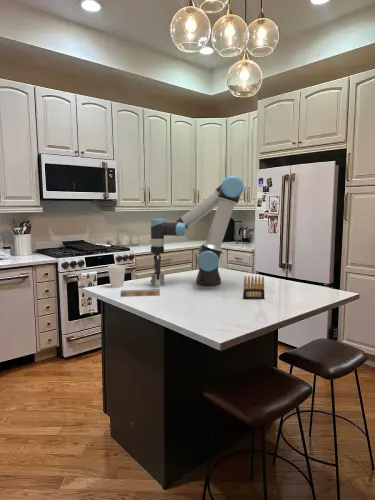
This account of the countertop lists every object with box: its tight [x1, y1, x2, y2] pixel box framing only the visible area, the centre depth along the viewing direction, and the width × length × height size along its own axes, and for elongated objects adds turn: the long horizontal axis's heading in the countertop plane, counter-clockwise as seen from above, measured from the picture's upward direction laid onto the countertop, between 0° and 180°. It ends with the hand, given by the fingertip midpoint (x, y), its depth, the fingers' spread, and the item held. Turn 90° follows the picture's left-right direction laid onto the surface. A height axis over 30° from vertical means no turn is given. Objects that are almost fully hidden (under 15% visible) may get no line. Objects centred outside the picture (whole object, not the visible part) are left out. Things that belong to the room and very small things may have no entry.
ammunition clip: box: [242, 275, 266, 300], centre depth 180 cm, size 11×2×12 cm, turn 89°
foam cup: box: [107, 264, 126, 289], centre depth 200 cm, size 10×9×13 cm
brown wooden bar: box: [120, 288, 161, 295], centre depth 186 cm, size 20×2×2 cm, turn 98°
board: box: [120, 292, 161, 298], centre depth 186 cm, size 20×13×2 cm, turn 98°
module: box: [150, 272, 165, 287], centre depth 205 cm, size 8×5×8 cm, turn 97°
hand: (157, 282), depth 205 cm, fingers open, 13 cm apart
